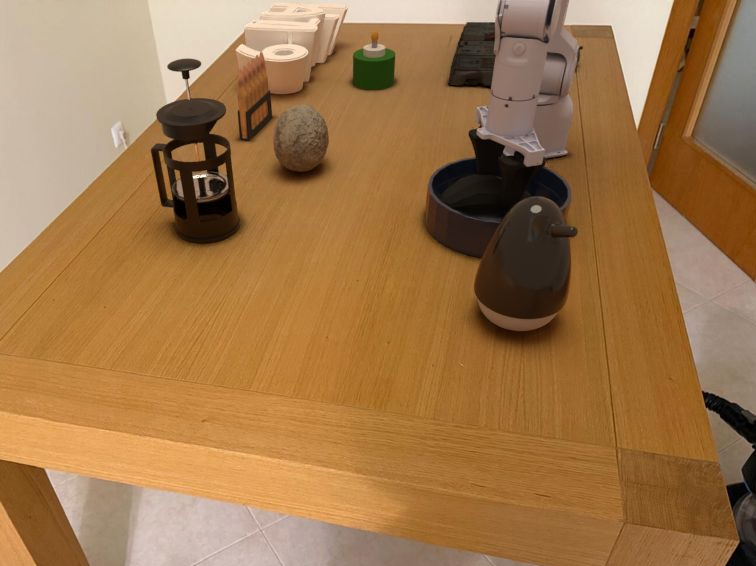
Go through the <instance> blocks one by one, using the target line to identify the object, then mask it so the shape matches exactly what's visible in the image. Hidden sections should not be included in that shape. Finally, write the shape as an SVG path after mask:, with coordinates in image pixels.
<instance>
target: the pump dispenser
mask: <svg viewBox="0 0 756 566" xmlns="http://www.w3.org/2000/svg"><path fill="white" fill-rule="evenodd" d="M578 232H579V230H578V227H576V226H572V225H568V224H567V220H566V221H565V218H564V216H563V213H562V211H561V210H560V208H559V207H558V205H557V204H556V203H555V202H553V201H552V200H550V199H548V198H545V197H541V196H532V197H527V198H524V199H522V200H520V201H519V202H517V203H516V204H515V205H514V206H513V207H512V208H511V209H510V210H509V211H508V212H507V213H506V215H505V216H504V217H503V219H502V220H501V221H500V223H499V224H498V226H497V227H496V229H495V231H494V233H493V234H492V236H491V238H490V240H489V242H488V244H487V246H486V248H485V250H484V253H483V255H482V258H480V261H479V264H478V266H477V270H476V273H475V277H474V283H473V292H474V294H475V297H476V300H477V304H478V307H479V309H480V311H481V312H482V314H483V315H484V316H485V318H486V319H487V320H488V321H490V322H491V323H493V324H494V325H496V326H497V327H499V328H502V329H504V330H509V331H515V332H529V331H534V330H537V329H540V328H542V327H544V326H546V325H547V324H549V323H550V322H551V321H552V320H553V319H554V318H555V317H556V316H557V314H558V313H559V312H560V311H561V310H562V309H563V308H564V307H565V305H566V304H567V303H568V299H569V295H570V290H571V282H572V280H571V279H572V249H571V248H572V247H571V239H570V238H575V237H577V235H578Z"/></svg>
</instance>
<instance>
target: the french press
mask: <svg viewBox="0 0 756 566" xmlns="http://www.w3.org/2000/svg"><path fill="white" fill-rule="evenodd" d="M201 66H202V62H201V60H199V59H196V58H180V59H176V60H172V61H171V62H169V63H168V64H167V65H166V68H167V70H169V71H171V72H176V73H181V77H182V78H181V79H182V80H184V82H185V87H186V89H185V90H186V96H187V98H183V99H179V100H176V101H175V100H174V101H172V102H169V103H166V104H165V105H163V106H161V107H160V108H159V109H158V110H157V111H156V113H155V117H156V120H157V122H158V123H160V124H161V130H162V133H163V135H164V136H165V137H167V138H169V139H171V140H170V141H168V142H167V143H160V142H157V143H155V144H154V145H153V146H152V147H151V149H150V154H151V159H152V164H153V169H154V174H155V179H156V185H157V190H158V195H159V200H160V206H161V207H163V208H172V209H173V210H172V211H173V215H174V221H175V225H174V230H175V233H176V234H177V236H178V237H179V238H181V239H182V240H184V241H187V242H190V243H193V244H194V243H195V244H209V243H210V244H212V243H217V242H220V241H223V240H226V239H228V238H230V237H232V236H233V235H235V233H237V232H238V230H239V229H240V227H241V219H240V215H239V211H238V203H237V197H236V190H235V189H236V188H235V181H234V172H233V164H232V149H231V143H230V141H229V140H228V138H226V137H224V136H222V135H221V134H220V135H219V134H216V133H211V132H212V130H214V127H215V126H216V124H217V122H218V121H219V120H221V119H222V118H223V117H225V115H226V114H227V107H226V105H225V104H224V103H223V102H221V101H219V100H216V99H212V98H206V97H192V98H191V91H190V85H189V84H190V83H189V79H190V78H191V76H190V71H194V70H197V69H199V68H200V67H201ZM198 144H203V145H202V147H203V153H204V160H200V153H199V147H198ZM188 145H194V149H195V157H196V161H183V160H176V159H173V154H172V152H173V151H175V150H176V149H178V148H179V149H180V148H181V147H185V146H188ZM216 145H219V146H222V147H223V148H225V149H226V150H224V152H222V153H221V154H219V155H217V147H216ZM160 152H162V155H163V160H164V164H165V165H166V171H167V175H168V181H169V186H170V193H171V198H172V199H170V198H168V193H167V187H166V182H165V176H164V172H163V166H162V161H161V155H160ZM224 164H225V172H226V173H225V174H224V173H221V172H220V171H219V167H220V166H223V165H224ZM176 171H178V173H179V177H180V178H178V179H177V177H176ZM205 213H218V214H222V216H220V217H218V218H213V219H209V220H201V219H200V214H205Z"/></svg>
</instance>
